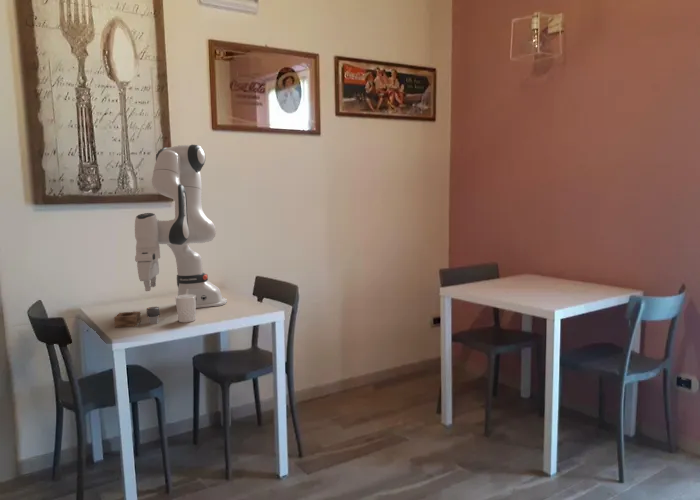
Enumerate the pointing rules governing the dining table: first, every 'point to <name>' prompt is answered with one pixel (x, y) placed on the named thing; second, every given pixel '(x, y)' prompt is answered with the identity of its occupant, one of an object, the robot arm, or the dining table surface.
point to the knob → (153, 314)
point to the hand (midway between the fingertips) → (150, 288)
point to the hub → (127, 319)
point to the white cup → (186, 307)
